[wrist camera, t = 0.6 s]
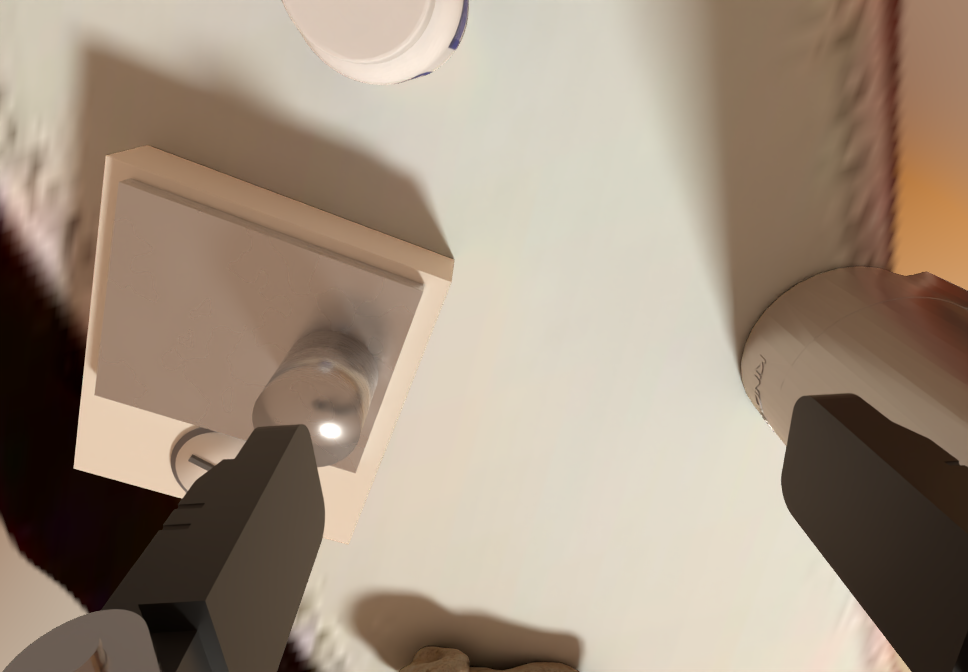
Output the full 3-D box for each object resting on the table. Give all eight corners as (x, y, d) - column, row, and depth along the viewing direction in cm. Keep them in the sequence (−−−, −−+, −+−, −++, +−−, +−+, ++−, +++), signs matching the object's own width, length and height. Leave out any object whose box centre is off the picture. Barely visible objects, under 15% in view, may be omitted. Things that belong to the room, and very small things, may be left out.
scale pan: (130, 178, 22) (118, 182, 21) (425, 284, 24) (423, 291, 23) (105, 386, 26) (94, 395, 25) (358, 462, 28) (355, 473, 27)
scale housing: (147, 144, 24) (97, 157, 21) (454, 259, 27) (450, 286, 23) (109, 432, 31) (67, 475, 28) (359, 505, 33) (346, 551, 30)
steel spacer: (355, 318, 24) (332, 364, 20) (392, 396, 25) (377, 452, 22) (269, 346, 24) (231, 395, 21) (310, 420, 26) (283, 478, 22)
